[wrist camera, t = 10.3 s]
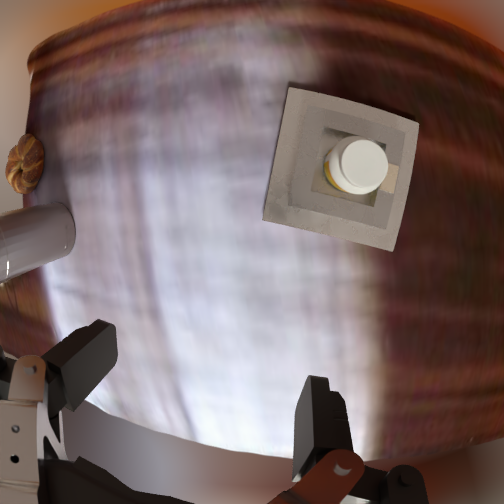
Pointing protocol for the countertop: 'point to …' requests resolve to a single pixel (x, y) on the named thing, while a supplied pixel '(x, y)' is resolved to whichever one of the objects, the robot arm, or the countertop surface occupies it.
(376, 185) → the supplement bottle
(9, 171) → the pretzel
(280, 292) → the countertop surface
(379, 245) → the white square holder
